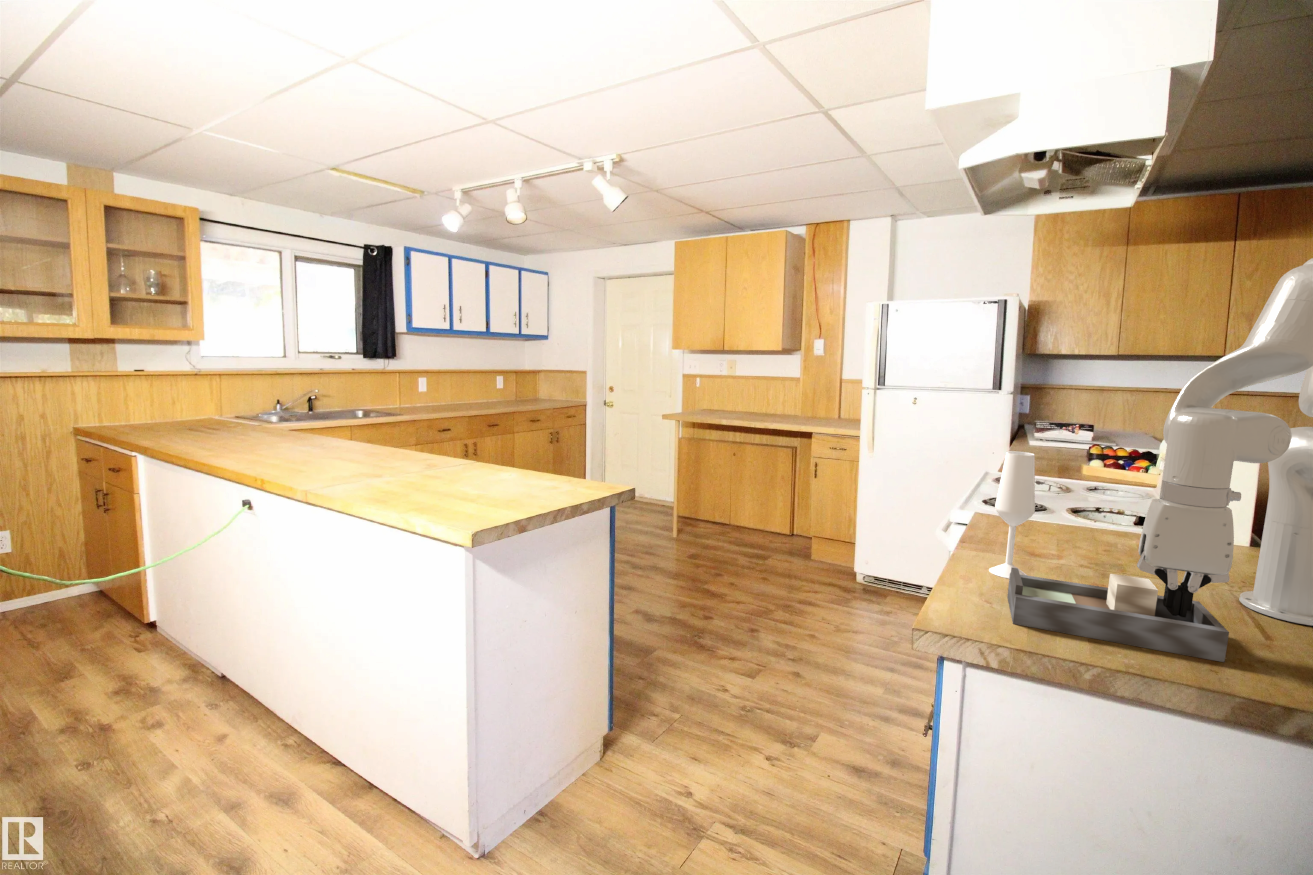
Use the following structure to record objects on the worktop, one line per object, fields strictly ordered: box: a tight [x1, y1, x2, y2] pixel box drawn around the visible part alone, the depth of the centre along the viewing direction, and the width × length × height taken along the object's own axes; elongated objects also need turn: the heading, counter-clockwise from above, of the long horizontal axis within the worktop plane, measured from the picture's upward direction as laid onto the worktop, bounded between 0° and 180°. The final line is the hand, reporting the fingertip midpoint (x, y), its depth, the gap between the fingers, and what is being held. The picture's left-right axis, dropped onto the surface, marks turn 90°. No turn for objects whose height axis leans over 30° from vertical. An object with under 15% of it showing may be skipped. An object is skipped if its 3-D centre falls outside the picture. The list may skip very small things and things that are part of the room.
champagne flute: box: [988, 450, 1036, 579], centre depth 118 cm, size 7×7×24 cm
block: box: [1106, 573, 1159, 616], centre depth 95 cm, size 5×5×5 cm
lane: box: [1007, 567, 1230, 663], centre depth 97 cm, size 26×12×6 cm, turn 64°
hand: (1175, 612), depth 93 cm, fingers closed
